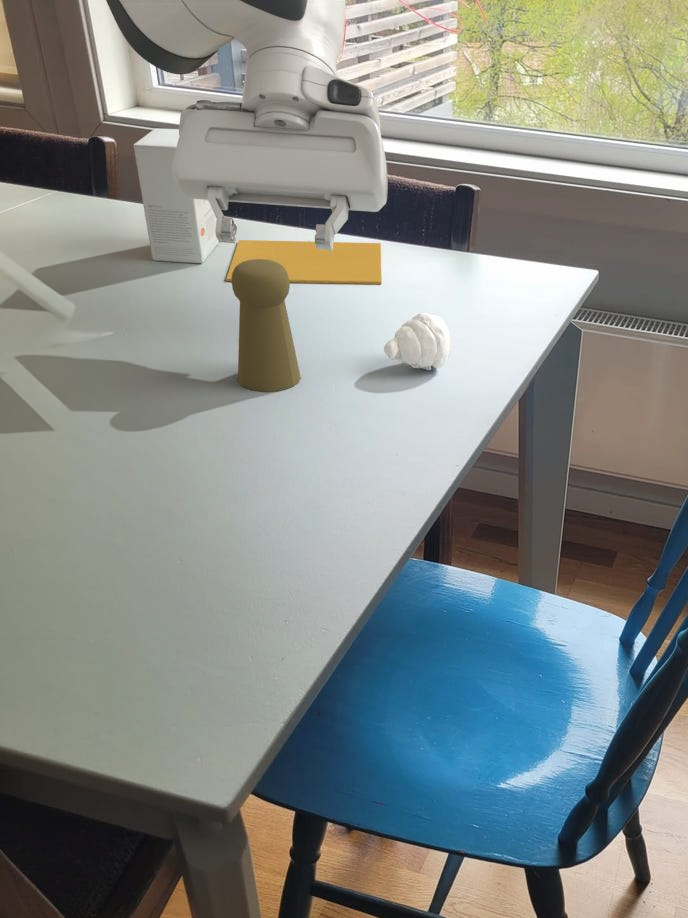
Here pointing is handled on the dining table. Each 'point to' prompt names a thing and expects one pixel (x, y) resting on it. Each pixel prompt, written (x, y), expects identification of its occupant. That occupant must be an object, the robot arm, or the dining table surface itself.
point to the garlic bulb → (421, 342)
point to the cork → (264, 327)
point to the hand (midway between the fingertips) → (274, 243)
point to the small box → (171, 204)
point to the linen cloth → (316, 260)
